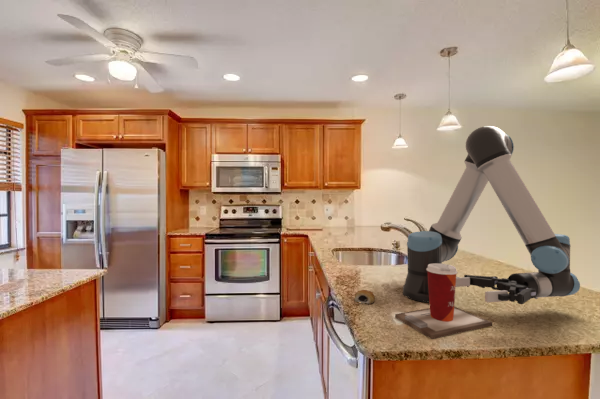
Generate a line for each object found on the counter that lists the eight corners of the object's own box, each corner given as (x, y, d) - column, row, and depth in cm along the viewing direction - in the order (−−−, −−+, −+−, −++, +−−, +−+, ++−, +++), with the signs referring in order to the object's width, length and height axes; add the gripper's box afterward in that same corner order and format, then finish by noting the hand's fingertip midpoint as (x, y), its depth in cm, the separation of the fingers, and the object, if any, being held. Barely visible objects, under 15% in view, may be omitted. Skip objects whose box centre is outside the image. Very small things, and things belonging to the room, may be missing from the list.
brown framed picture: (395, 317, 84) (395, 311, 84) (449, 307, 91) (449, 301, 92) (431, 339, 71) (431, 331, 71) (491, 325, 78) (491, 318, 78)
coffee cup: (462, 324, 76) (462, 270, 76) (430, 321, 78) (430, 268, 78) (452, 312, 85) (452, 263, 85) (423, 310, 86) (423, 262, 86)
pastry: (359, 294, 105) (359, 284, 105) (377, 297, 102) (377, 287, 102) (353, 303, 96) (353, 292, 96) (373, 306, 94) (373, 295, 94)
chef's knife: (457, 276, 131) (451, 276, 131) (457, 274, 131) (451, 274, 131) (490, 288, 112) (483, 288, 112) (490, 286, 112) (483, 285, 112)
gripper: (573, 313, 74) (504, 319, 70) (493, 285, 98) (439, 288, 95) (573, 285, 74) (504, 289, 70) (493, 264, 98) (439, 266, 95)
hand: (467, 289), depth 82 cm, fingers open, 13 cm apart
